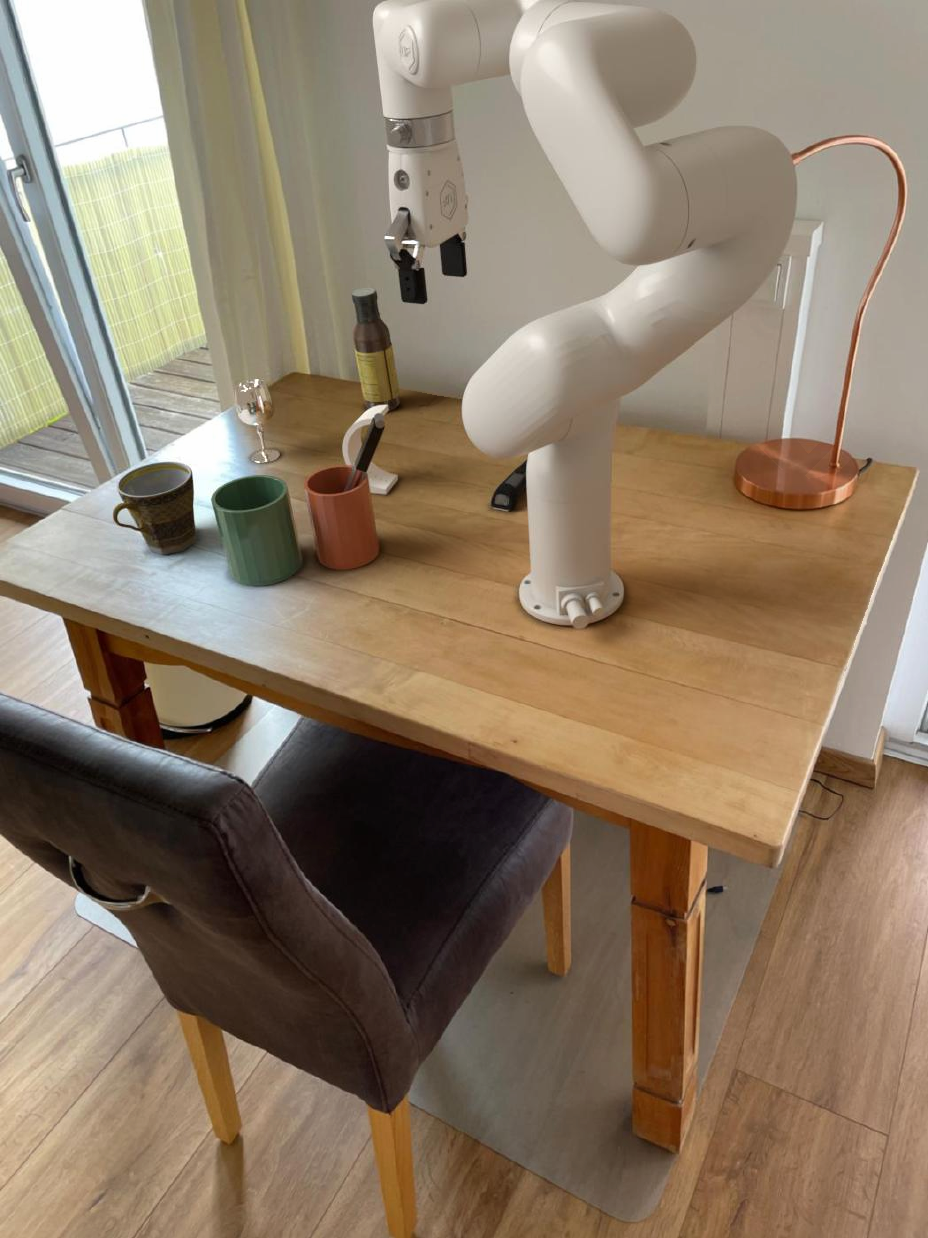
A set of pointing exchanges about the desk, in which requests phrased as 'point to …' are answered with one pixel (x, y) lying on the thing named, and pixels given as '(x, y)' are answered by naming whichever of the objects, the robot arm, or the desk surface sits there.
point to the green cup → (257, 529)
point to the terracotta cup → (341, 518)
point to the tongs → (366, 451)
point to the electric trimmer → (510, 489)
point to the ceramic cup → (160, 505)
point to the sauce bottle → (374, 352)
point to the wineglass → (256, 412)
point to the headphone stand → (351, 447)
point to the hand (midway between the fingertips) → (435, 288)
